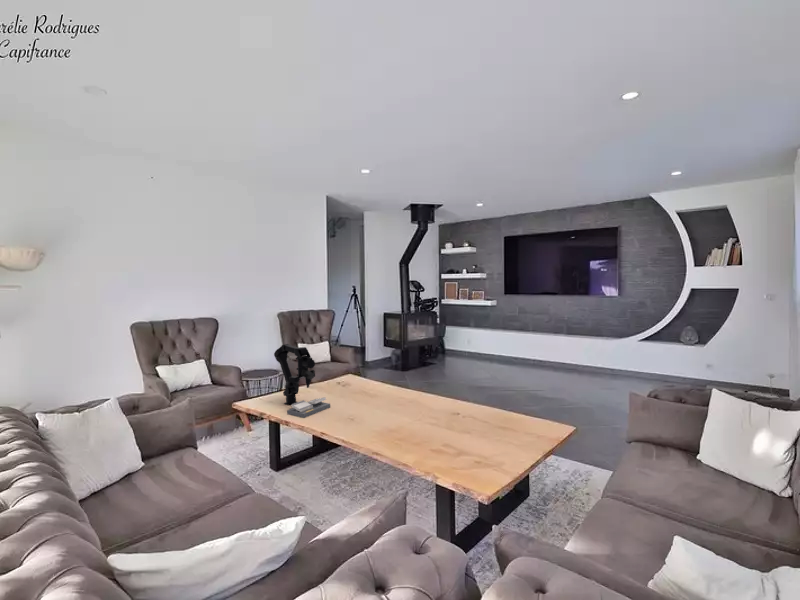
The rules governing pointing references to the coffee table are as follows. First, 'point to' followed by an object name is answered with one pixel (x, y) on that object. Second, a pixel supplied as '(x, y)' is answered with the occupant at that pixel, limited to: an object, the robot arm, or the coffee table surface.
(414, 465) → the coffee table surface
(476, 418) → the coffee table surface
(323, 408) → the switch unit
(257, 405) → the coffee table surface
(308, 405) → the grey flat slab
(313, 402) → the rocker
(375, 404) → the coffee table surface
